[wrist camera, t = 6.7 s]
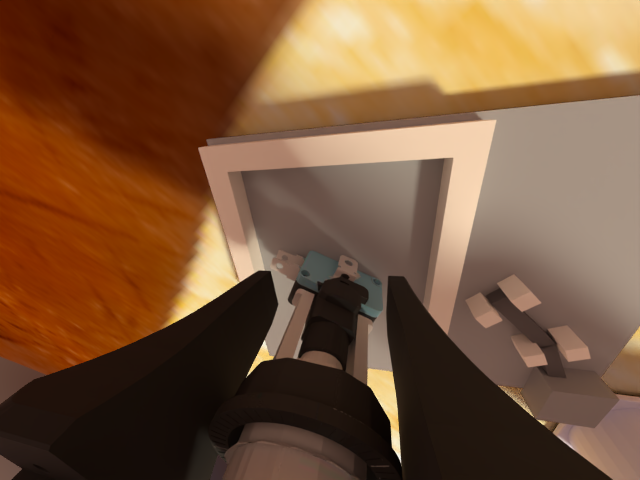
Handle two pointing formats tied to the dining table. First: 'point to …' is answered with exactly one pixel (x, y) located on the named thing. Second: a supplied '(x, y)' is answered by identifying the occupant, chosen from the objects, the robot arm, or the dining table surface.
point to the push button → (312, 387)
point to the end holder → (354, 148)
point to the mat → (479, 227)
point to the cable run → (547, 359)
